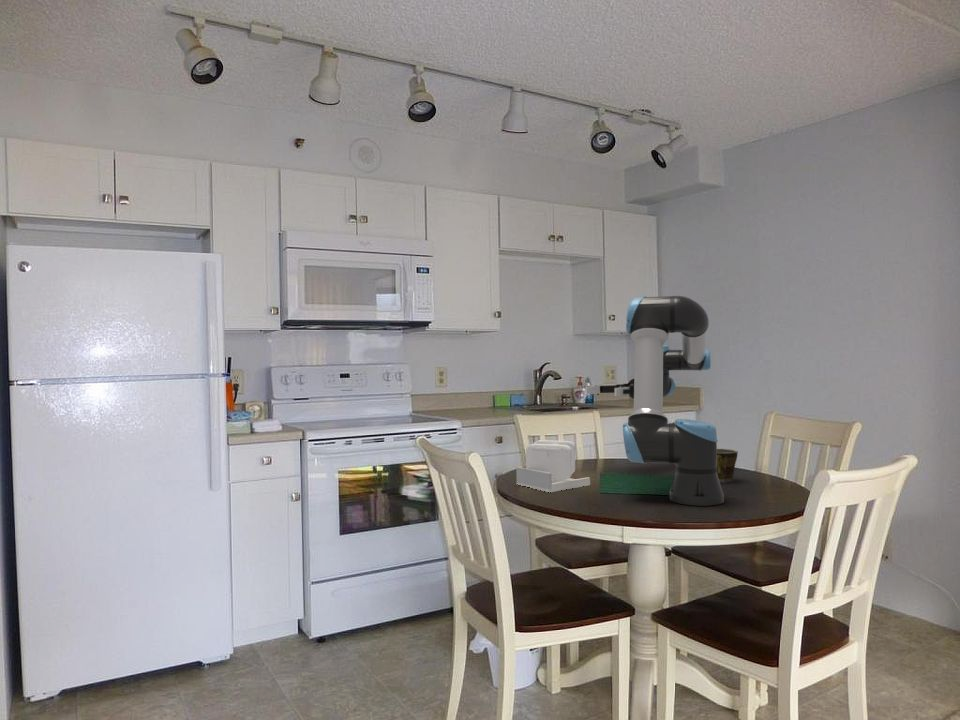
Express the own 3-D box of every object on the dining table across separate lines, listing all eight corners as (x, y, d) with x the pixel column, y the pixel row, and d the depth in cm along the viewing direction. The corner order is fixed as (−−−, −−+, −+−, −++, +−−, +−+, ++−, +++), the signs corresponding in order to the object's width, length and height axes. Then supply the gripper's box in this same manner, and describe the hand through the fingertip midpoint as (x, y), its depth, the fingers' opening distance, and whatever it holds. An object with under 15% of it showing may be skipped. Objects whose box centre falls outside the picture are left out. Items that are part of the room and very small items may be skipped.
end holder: (590, 485, 226) (589, 467, 226) (549, 492, 216) (549, 473, 216) (556, 478, 239) (556, 461, 239) (516, 485, 228) (516, 467, 228)
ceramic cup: (708, 477, 237) (708, 448, 237) (739, 479, 233) (739, 449, 233) (702, 484, 226) (702, 453, 225) (735, 486, 221) (735, 455, 221)
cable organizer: (578, 476, 229) (577, 441, 229) (570, 482, 219) (569, 445, 219) (534, 473, 235) (534, 439, 235) (525, 479, 225) (524, 443, 225)
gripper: (669, 400, 240) (628, 404, 228) (615, 397, 260) (575, 400, 248) (669, 378, 240) (628, 381, 228) (615, 377, 260) (574, 379, 248)
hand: (600, 391), depth 238 cm, fingers open, 13 cm apart
